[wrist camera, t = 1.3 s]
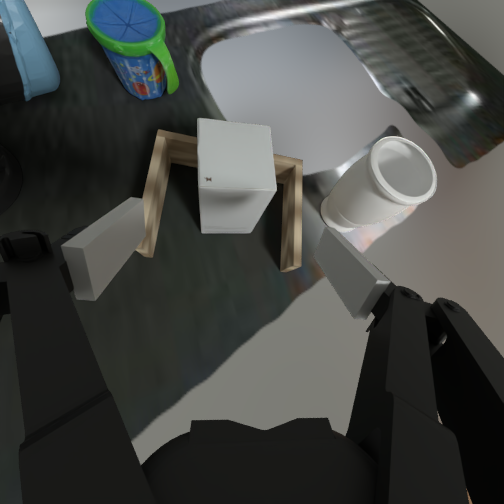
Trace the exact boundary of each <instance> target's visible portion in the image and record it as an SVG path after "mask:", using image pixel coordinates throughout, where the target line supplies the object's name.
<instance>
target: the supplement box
mask: <svg viewBox="0 0 504 504" xmlns="http://www.w3.org/2000/svg"><path fill="white" fill-rule="evenodd" d="M197 156H198V190H199V206H200V222H201V233H251V232H252V230H253V228H254V227H255V225H256V223H257V222H258V220H259V218H260V217H261V215H262V214H263V212H264V210H265V209H266V207H267V205H268V204H269V202H270V201H271V199H272V197H273V196H274V194H275V192H276V191H277V186H276V176H275V167H274V158H273V149H272V140H271V131H270V126H263V125H256V124H244V123H236V122H229V121H221V120H213V119H205V118H198V119H197Z"/></svg>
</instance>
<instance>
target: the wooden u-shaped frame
mask: <svg viewBox="0 0 504 504" xmlns="http://www.w3.org/2000/svg"><path fill="white" fill-rule="evenodd" d="M273 158H274V167H275V176H276V182H277V183H282V184H284V187H283V213H282V240H281V266H280V271H281V272H288V271H291V270H293V269H296V268H298V267H301V240H302V160H300V159H295V158H291V157H286V156H281V155H276V154H273ZM171 163H175V164H181V165H186V166H191V167H197V168H198V156H197V137H192V136H187V135H183V134H178V133H173V132H168V131H164V130H159V129H158V132H157V136H156V141H155V145H154V150H153V154H152V158H151V163H150V167H149V172H148V176H147V181H146V185H145V189H144V194H143V198H142V199H143V201H144V217H145V232H146V236H145V238H144V239H143V240H142V242H141V243H140V244H139V245H138V247H137V248H136V249H135V250H136V251H138V252H139V253H140V254H142V255H143V256H144V257H152V258H153V253H154V248H155V243H156V238H157V233H158V228H159V223H160V218H161V213H162V208H163V203H164V198H165V193H166V188H167V182H168V177H169V172H170V167H171Z"/></svg>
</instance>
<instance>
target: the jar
mask: <svg viewBox="0 0 504 504" xmlns="http://www.w3.org/2000/svg"><path fill="white" fill-rule="evenodd" d="M436 187H437V175H436V171H435V168H434V166H433V164H432V162H431V160H430V159H429V157H428V156H427V154H426V153H425V152H424V151H423V150H422V149H421V148H420V147H418V146H417V145H416V144H414V143H413V142H411V141H409V140H407V139H404V138H401V137H395V136H390V137H385V138H383V139H381V140H379V141H378V142H377V143H375V144H374V145H373V146H372V148H371V149H370V151H369V153H368V154H367V155H365V156H364V157H362V158H361V159H359V160H358V161H357V162H356V163H354V164H353V165H352V166H351V167H350V168H349V169H348V170H347V171H346V172H345V173H344V174H343V175H342V177H341V178H340V179H339V181H338V182H337V184H336V185H335V186H334V188H333V189H332V191H331V192H330V195H329V196H327V197H326V198H325V199H324V200H323V202H322V204H321V215H322V218H323V220H324V222H325V223H326V224H327V225H328V226H329V227H332V228H335V229H336V230H337V231H338V232H349V231H351V230H353V229H354V228H360V227H365V226H368V225H371V224H376V223H379V222H382V221H385V220H387V219H389V218H391V217H393V216H395V215H397V214H399V213H400V212H402V211H404V210H405V209H406V208H408V207H409V206H413V205H418V204H420V203H423V202H425V201H427V200H428V199H429V198H431V197H432V196H433V194H434V192H435V191H436Z"/></svg>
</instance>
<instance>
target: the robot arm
mask: <svg viewBox="0 0 504 504" xmlns="http://www.w3.org/2000/svg"><path fill="white" fill-rule="evenodd" d="M59 84H60V75H59V72H58V69H57V67H56V64H55V62H54V60H53V58H52V56H51V54H50V51H49V49H48V47H47V45H46V43H45V41H44V39H43V37H42V35H41V33H40V31H39V29H38V27H37V25H36V23H35V21H34V19H33V17H32V15H31V13H30V11H29V9H28V7H27V5H26V3H25V1H24V0H0V105H2V104H6V103H11V102H16V101H21V100H24V101H29V100H30V99H31V98H32V97H34V96H38V95H42V94H45V93H49V92H53V91H55V90H56V89H57V88H58V86H59ZM22 178H23V177H22V170H21V167H20V165H19V163H18V161H17V159H16V158H15V157H14V156H13V155H12V154H11V153H10V152H9V151H8V150H7V149H5V148H4V147H3V146H2V145H0V215H1V214H2V213H3V212H4V211H6V210H7V209H8V208H9V207H10V206H11V205H12V203H13V202H14V201H15V199H16V198H17V196H18V194H19V192H20V189H21V186H22ZM145 236H146V232H145V217H144V201H143V199H140V198H134V197H130V198H129V199H127V200H126V201H125V202H123V203H122V204H120V205H119V206H117V207H116V208H115V209H113V210H112V211H110V212H109V213H107V214H106V215H104V216H103V217H102V218H100V219H99V220H97V221H96V222H94V223H93V224H92V225H90V226H82V227H79V228H76V229H74V230H72V231H71V232H69V233H68V234H67V235H65V236H63V237H61V239H58V240H57V241H55V242H54V243H52V244H50V241H49V238H48V235H47V234H46V233H45V232H42V231H37V230H23V231H16V232H11V233H8V234H4V235H2V236H0V253H1V256H2V258H3V260H4V262H1V263H0V321H1V319H2V317H3V315H4V314H11V320H12V328H13V337H14V345H15V353H16V361H17V369H18V378H19V386H20V394H21V402H22V410H23V419H24V427H25V441H24V442H23V443H22V444H21V445H20V449H19V468H20V479H21V489H22V500H23V504H469V500H468V495H467V491H468V493H469V496H470V499H471V501H472V504H504V358H503V357H502V355H501V354H500V353H499V352H498V350H497V349H496V348H495V346H494V345H493V344H492V343H491V342H490V340H489V339H488V338H487V336H486V335H485V334H484V333H483V331H482V330H481V329H480V328H479V326H478V325H477V324H476V323H475V321H474V320H473V319H472V318H471V316H470V315H469V314H468V312H466V310H465V309H463V308H462V307H461V306H459V304H457V303H455V302H454V301H452V300H448V299H445V298H437V299H436V301H435V302H434V303H433V304H430V303H427V302H424V301H423V299H422V297H421V296H420V295H418V294H417V293H416V292H414V291H412V290H411V289H409V288H406V287H402V286H396V285H394V284H393V283H392V282H391V281H390V280H389V279H388V278H387V277H386V276H385V275H383V273H382V272H381V271H379V269H378V268H377V267H376V266H374V265H373V264H372V263H371V262H370V261H368V260H367V259H366V258H365V257H364V256H363V255H362V254H361V253H360V252H359V251H358V250H357V249H356V248H355V247H354V246H353V245H352V244H351V243H350V242H349V241H348V240H347V239H346V238H345V237H343V236H342V235H341V234H340V233H339V232H338V231H337V230H336V229H335V228H332V227H325V229H324V231H323V234H322V237H321V239H320V242H319V244H318V247H317V249H316V252H315V254H314V258H315V260H316V261H317V263H318V264H319V266H320V267H321V269H322V271H323V272H324V274H325V275H326V277H327V278H328V280H329V281H330V283H331V284H332V286H333V287H334V289H335V290H336V292H337V294H338V295H339V297H340V298H341V299H342V301H343V303H344V304H345V306H346V307H347V309H348V311H349V312H350V314H351V315H352V317H353V318H354V319H363V320H366V319H367V317H368V316H369V314H370V313H371V312H372V313H373V314H374V316H375V318H374V320H373V321H372V323H371V324H370V326H369V327H368V328H367V330H366V332H368V331H370V333H369V337H368V342H367V346H366V351H365V355H364V360H363V364H362V369H361V373H360V378H359V382H358V387H357V391H356V396H355V400H354V405H353V409H352V414H351V418H350V423H349V427H348V431H347V433H346V436H344V435H342V434H340V433H338V432H336V431H334V430H332V428H331V425H330V423H329V420H328V418H297V419H294V420H292V421H289V422H287V423H284V424H282V425H279V426H276V427H274V428H271V429H269V430H260V429H257V428H254V427H250V426H247V425H243V424H240V423H237V422H234V421H230V420H192V421H191V428H190V432H187V433H185V434H182V435H180V436H178V437H176V438H174V439H172V440H170V441H169V442H167V443H166V444H164V445H163V446H161V447H160V448H159V449H158V450H156V451H155V452H154V453H153V454H152V455H151V456H150V457H149V458H148V459H147V460H146V461H145V462H144V463H143V464H142V465H140V463H139V460H138V457H137V455H136V452H135V450H134V448H133V445H132V443H131V440H130V438H129V435H128V433H127V430H126V428H125V425H124V423H123V421H122V418H121V416H120V413H119V411H118V408H117V406H116V403H115V401H114V399H113V396H112V394H111V392H110V391H109V390H108V388H107V386H106V383H105V381H104V378H103V376H102V373H101V371H100V368H99V366H98V363H97V361H96V358H95V356H94V353H93V351H92V348H91V346H90V343H89V341H88V338H87V336H86V333H85V331H84V328H83V326H82V323H81V321H80V318H79V316H78V313H77V311H76V308H75V306H74V303H73V301H72V298H71V296H70V292H71V291H72V290H73V289H74V293H75V296H76V299H78V300H92V301H96V299H97V298H98V297H99V295H100V294H101V293H102V292H103V290H104V289H105V288H106V286H107V285H108V284H109V283H110V281H111V280H112V279H113V277H114V276H115V275H116V274H117V272H118V271H119V270H120V268H121V267H122V266H123V265H124V263H125V262H126V261H127V260H128V258H129V257H130V256H131V254H132V253H133V252H134V251H135V249H136V248H137V247H138V245H139V244H140V243H141V242H142V240H143V239H144V238H145ZM445 339H446V341H445V343H444V344H442V342H443V341H444V340H445ZM437 411H438V413H439V416H440V419H441V421H442V424H443V425H442V424H441V423H439V421H438V415H437V414H438V413H437ZM466 488H467V490H466Z"/></svg>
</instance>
